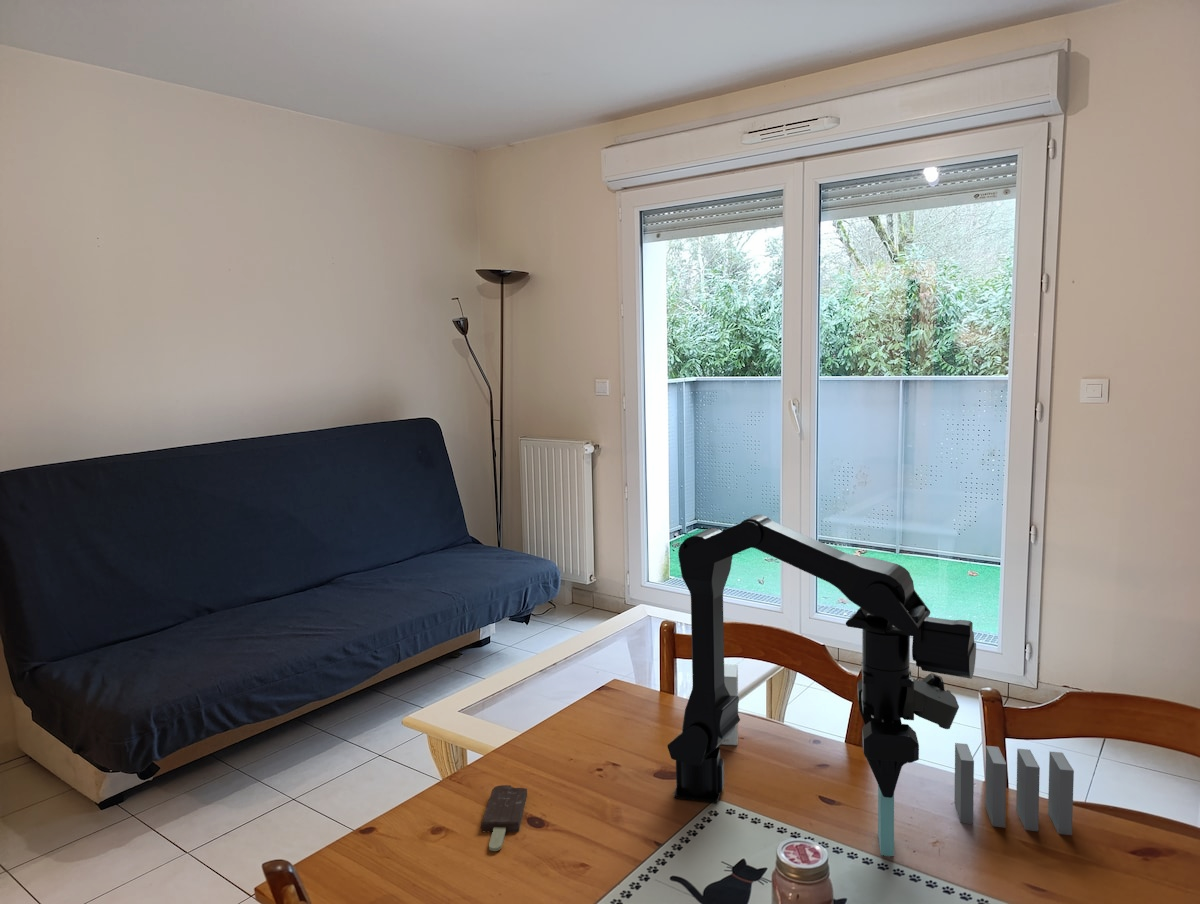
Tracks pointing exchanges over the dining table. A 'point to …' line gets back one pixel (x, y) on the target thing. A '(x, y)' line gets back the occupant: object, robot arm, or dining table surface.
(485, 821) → the ice cream bar
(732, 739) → the skincare box
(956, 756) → the domino
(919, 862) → the dining table surface
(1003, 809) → the domino
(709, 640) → the robot arm
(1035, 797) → the domino
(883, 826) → the placed domino
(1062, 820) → the domino
